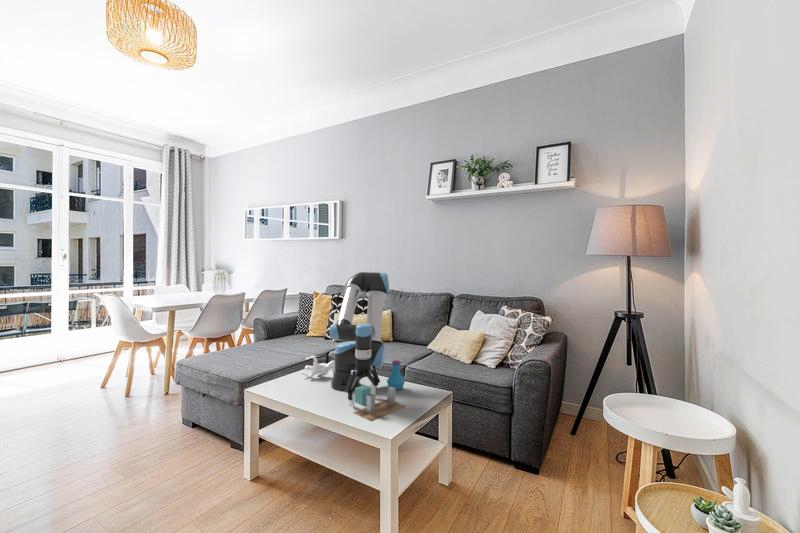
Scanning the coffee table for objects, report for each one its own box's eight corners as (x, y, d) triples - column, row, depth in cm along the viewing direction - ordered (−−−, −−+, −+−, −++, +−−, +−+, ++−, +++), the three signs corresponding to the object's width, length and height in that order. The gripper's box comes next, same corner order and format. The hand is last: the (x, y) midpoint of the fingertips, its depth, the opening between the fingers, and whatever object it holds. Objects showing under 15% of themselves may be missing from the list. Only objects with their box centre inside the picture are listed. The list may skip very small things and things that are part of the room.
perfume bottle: (402, 393, 186) (403, 364, 186) (385, 391, 188) (385, 363, 187) (405, 387, 195) (406, 359, 195) (389, 385, 197) (389, 358, 196)
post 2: (387, 405, 168) (387, 387, 168) (391, 403, 170) (391, 386, 170) (391, 406, 167) (391, 389, 167) (395, 405, 169) (395, 387, 168)
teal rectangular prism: (354, 404, 171) (354, 388, 171) (363, 401, 175) (363, 385, 175) (362, 407, 168) (362, 390, 168) (370, 404, 172) (370, 388, 171)
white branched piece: (328, 353, 220) (306, 354, 206) (343, 361, 213) (320, 363, 198) (322, 374, 220) (299, 376, 206) (336, 383, 213) (313, 386, 198)
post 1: (366, 413, 159) (366, 395, 159) (370, 411, 161) (371, 393, 161) (370, 415, 157) (370, 396, 157) (374, 413, 159) (375, 395, 159)
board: (352, 415, 159) (352, 412, 159) (388, 401, 176) (388, 399, 176) (371, 423, 151) (371, 421, 151) (406, 408, 167) (406, 406, 167)
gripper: (347, 364, 159) (346, 412, 160) (387, 354, 178) (386, 397, 178) (337, 361, 164) (336, 407, 165) (376, 351, 183) (376, 393, 183)
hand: (362, 402), depth 171 cm, fingers open, 13 cm apart
